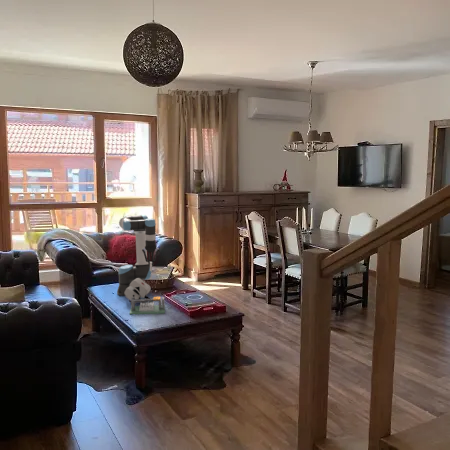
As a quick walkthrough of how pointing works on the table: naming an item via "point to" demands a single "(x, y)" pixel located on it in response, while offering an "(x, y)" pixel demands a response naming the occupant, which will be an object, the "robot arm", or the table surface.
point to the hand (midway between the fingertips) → (151, 270)
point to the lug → (161, 304)
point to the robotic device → (137, 290)
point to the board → (156, 311)
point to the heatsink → (146, 306)
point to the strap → (147, 300)
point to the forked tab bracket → (132, 305)
